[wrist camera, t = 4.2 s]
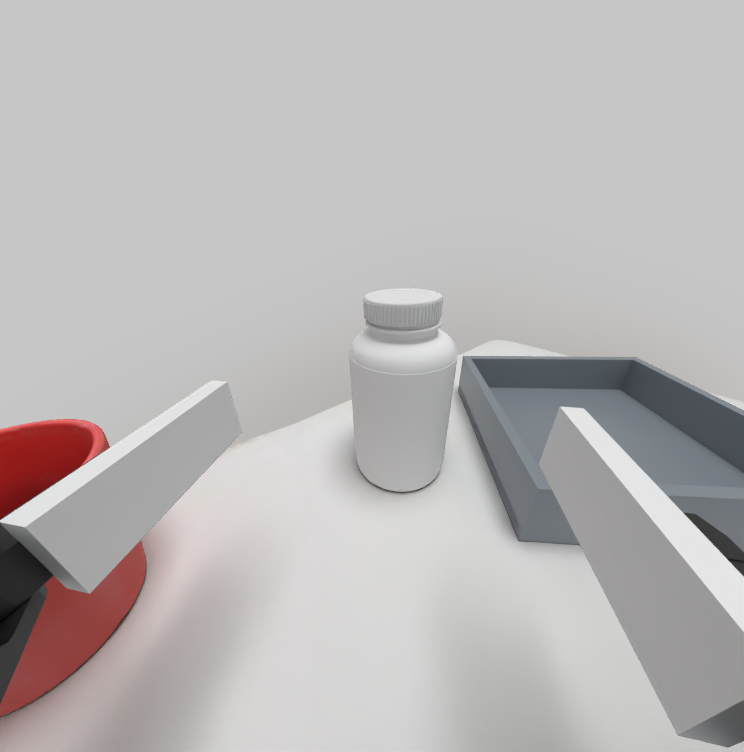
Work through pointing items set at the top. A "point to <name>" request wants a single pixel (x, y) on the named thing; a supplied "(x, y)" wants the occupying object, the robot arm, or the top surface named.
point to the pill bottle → (401, 388)
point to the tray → (619, 419)
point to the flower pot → (62, 605)
